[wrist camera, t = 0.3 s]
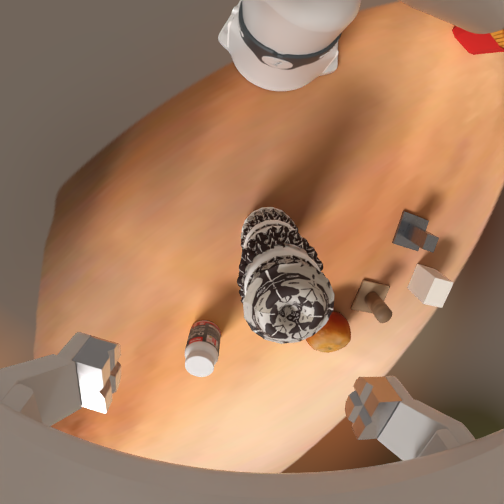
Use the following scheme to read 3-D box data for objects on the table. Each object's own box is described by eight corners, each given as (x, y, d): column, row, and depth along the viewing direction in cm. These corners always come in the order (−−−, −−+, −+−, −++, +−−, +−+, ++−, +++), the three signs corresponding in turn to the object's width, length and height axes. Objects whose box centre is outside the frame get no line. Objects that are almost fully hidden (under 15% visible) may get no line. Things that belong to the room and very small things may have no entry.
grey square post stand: (403, 210, 47) (423, 220, 41) (427, 220, 48) (448, 230, 41) (392, 242, 49) (410, 256, 43) (416, 250, 50) (436, 264, 43)
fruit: (356, 302, 51) (360, 343, 46) (337, 321, 57) (339, 359, 52) (316, 295, 50) (317, 337, 45) (300, 315, 56) (299, 354, 51)
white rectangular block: (417, 263, 51) (435, 277, 45) (435, 269, 51) (453, 282, 45) (407, 287, 52) (423, 303, 46) (425, 292, 53) (441, 307, 47)
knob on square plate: (362, 279, 51) (377, 297, 45) (389, 285, 52) (405, 303, 45) (350, 308, 53) (363, 328, 47) (376, 312, 54) (391, 332, 47)
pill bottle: (202, 313, 53) (195, 347, 43) (227, 330, 54) (224, 365, 45) (184, 333, 54) (175, 367, 45) (208, 348, 55) (203, 384, 46)
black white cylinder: (235, 256, 49) (230, 354, 26) (243, 200, 46) (243, 258, 23) (290, 263, 50) (328, 360, 26) (300, 208, 47) (356, 271, 23)
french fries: (480, 50, 36) (521, 40, 23) (475, 61, 37) (517, 52, 25) (451, 17, 34) (490, 1, 22) (445, 28, 35) (485, 11, 23)
